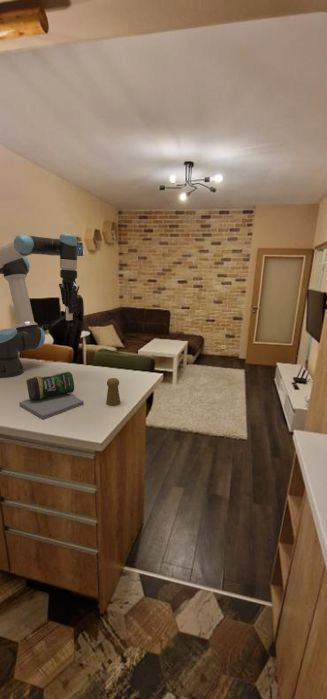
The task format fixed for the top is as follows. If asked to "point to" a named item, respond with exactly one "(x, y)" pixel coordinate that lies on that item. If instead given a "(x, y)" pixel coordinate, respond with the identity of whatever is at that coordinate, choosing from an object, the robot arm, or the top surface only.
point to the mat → (51, 405)
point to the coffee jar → (50, 385)
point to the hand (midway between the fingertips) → (69, 319)
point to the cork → (113, 392)
